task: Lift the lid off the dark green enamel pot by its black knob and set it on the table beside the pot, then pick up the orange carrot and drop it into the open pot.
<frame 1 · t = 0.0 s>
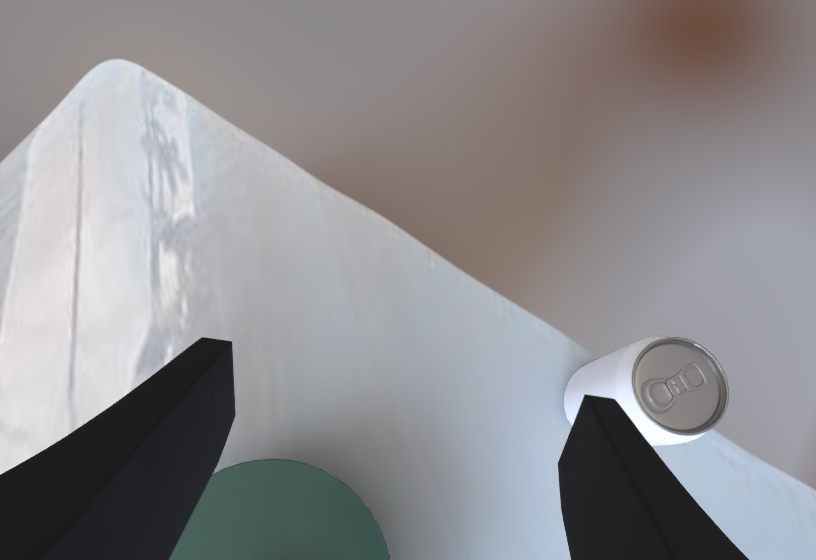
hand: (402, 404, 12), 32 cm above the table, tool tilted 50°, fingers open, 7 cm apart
can: (602, 404, 44), on the table
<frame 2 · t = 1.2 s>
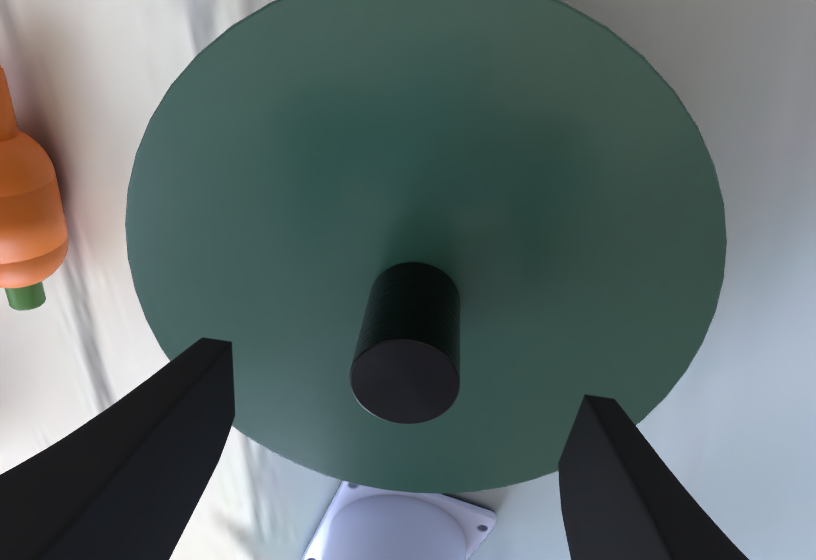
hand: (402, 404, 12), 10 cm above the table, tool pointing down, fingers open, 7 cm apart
pot lid: (415, 290, 15), point 6 cm above the table, touching pot
carrot: (30, 174, 21), on the table
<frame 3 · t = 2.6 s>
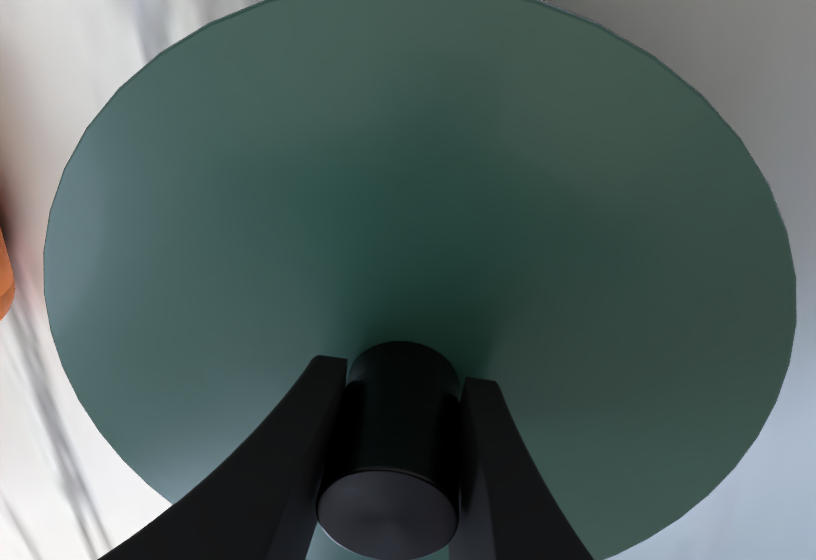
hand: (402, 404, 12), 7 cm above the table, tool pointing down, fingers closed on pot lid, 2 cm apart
pot lid: (405, 369, 13), point 6 cm above the table, touching gripper, pot
when the fingers open (2 cm above the table, at t = 7.1 s): pot lid stays where it is, point 1 cm above the table.
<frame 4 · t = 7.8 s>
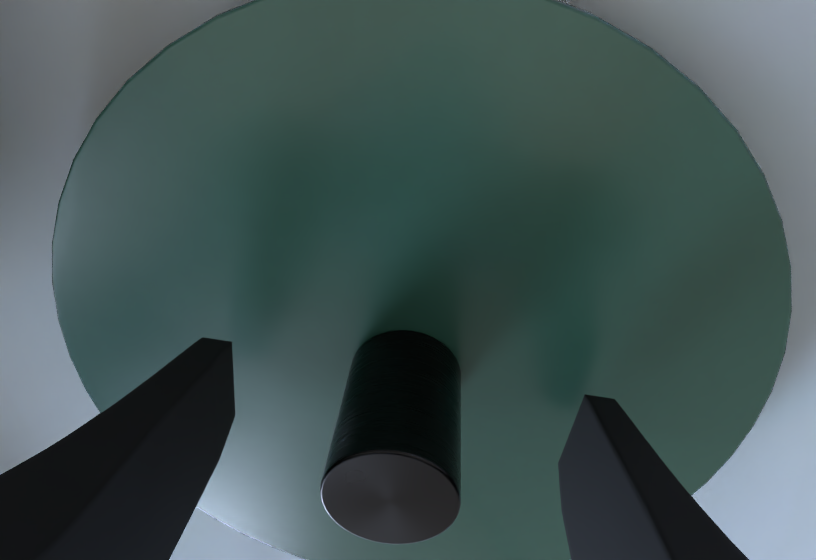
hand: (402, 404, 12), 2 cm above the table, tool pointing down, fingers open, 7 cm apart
pot lid: (407, 359, 13), point 1 cm above the table
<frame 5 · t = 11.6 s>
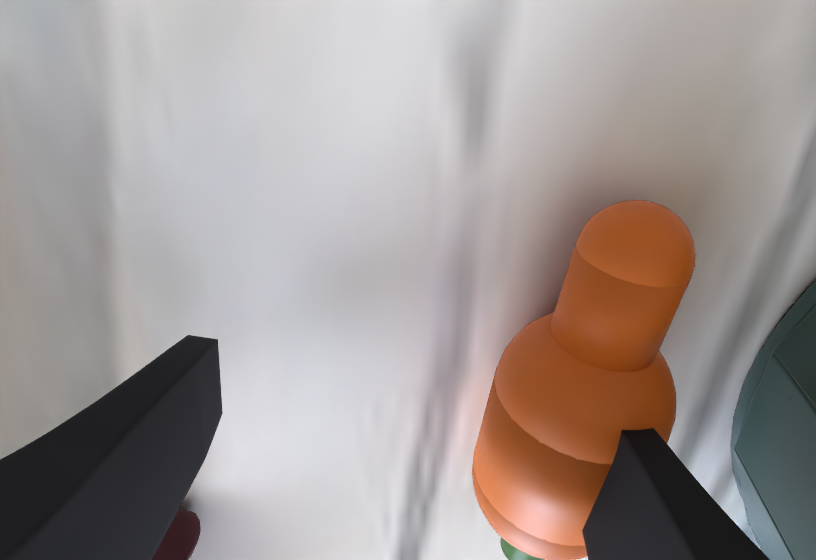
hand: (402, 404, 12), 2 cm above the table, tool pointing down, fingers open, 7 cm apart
carrot: (496, 427, 12), point 2 cm above the table, tilted 112°, touching gripper
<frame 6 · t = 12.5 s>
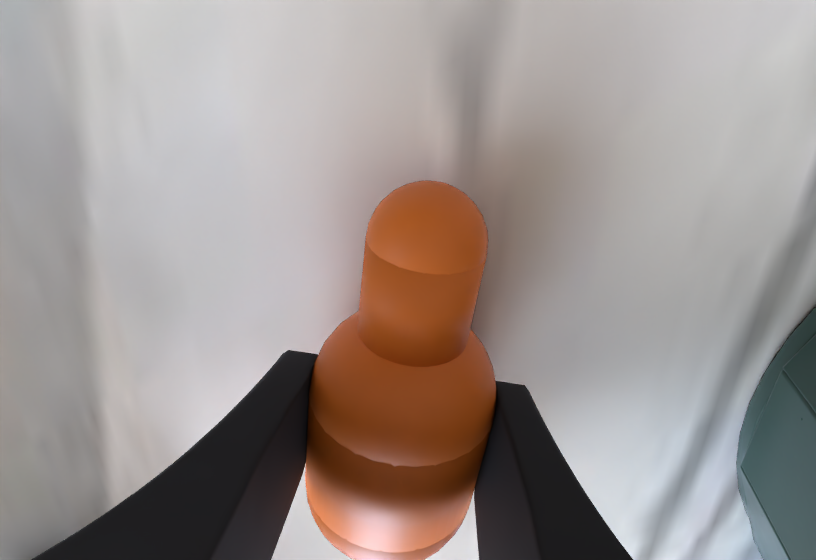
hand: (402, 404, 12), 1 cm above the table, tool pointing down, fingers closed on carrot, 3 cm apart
carrot: (475, 464, 11), point 3 cm above the table, tilted 123°, touching gripper
when the fingers open (2 cm above the table, at t = 17.3 s): carrot stays where it is and tips over, resting on pot.
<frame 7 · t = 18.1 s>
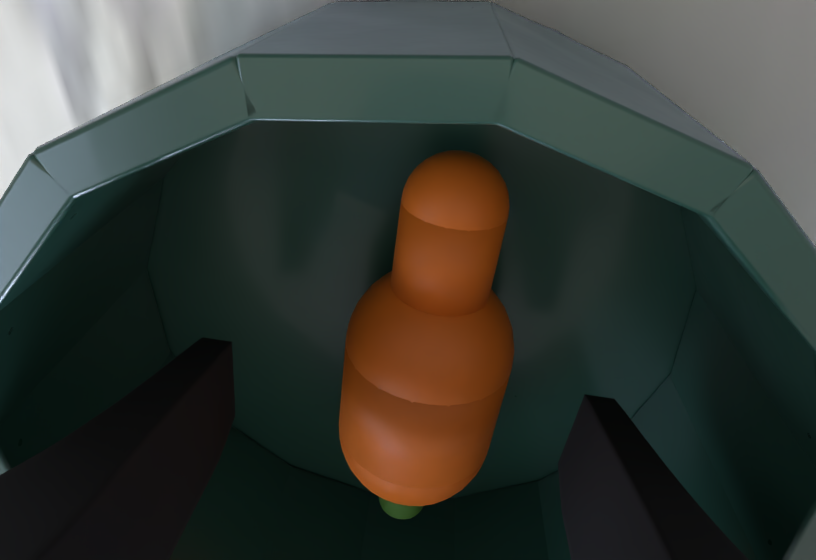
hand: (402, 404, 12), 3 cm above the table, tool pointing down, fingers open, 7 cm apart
carrot: (503, 396, 12), point 3 cm above the table, tilted 109°, touching pot
pot: (413, 310, 15), on the table
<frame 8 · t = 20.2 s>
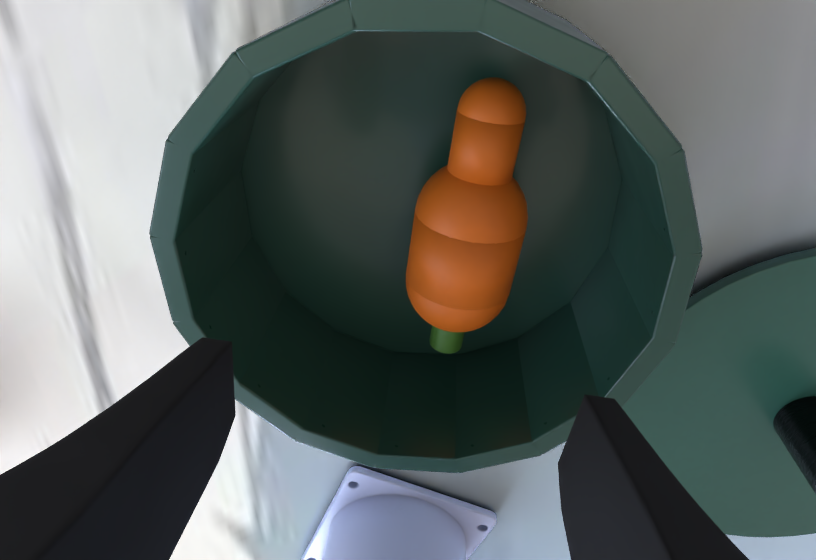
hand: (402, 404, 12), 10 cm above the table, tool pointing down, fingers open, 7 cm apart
pot lid: (798, 409, 23), point 1 cm above the table
carrot: (519, 235, 19), point 2 cm above the table, tilted 77°, touching pot
pot: (427, 202, 21), on the table
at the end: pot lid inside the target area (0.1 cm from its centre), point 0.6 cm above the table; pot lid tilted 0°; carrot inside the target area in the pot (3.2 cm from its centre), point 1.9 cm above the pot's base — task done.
